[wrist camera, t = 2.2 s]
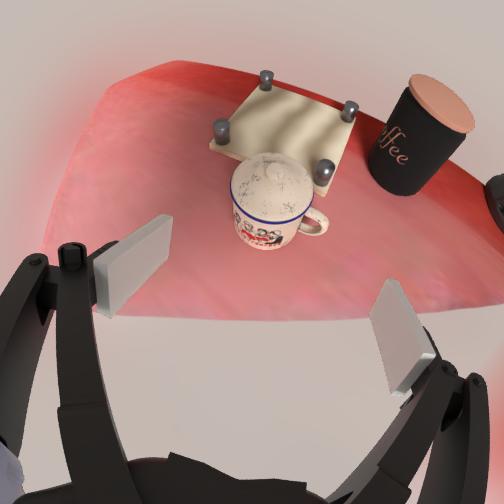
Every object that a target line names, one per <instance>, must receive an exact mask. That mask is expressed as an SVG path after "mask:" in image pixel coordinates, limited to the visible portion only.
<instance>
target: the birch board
mask: <svg viewBox="0 0 504 504" xmlns="http://www.w3.org/2000/svg"><path fill="white" fill-rule="evenodd" d="M341 114H342V111H340V110H337V109H335V108H333V107H330V106H328V105H325V104H323V103H320V102H318V101H315V100H313V99H310V98H307V97H305V96H302V95H299V94H296V93H294V92H291V91H288V90H285V89H282V88H279V87H276V86H273V85H272V90H271V91H267V92H266V91H262V90H260V89H259V85H258V87H257V88H256V89H255V90H254V91H253V92H252V93H251V94H250V95H249V97H248V98H247V99H246V100H245V101H244V102H243V103H242V104H241V106H240V107H239V108H238V109H237V110H236V111H235V113H234V114H233V115H232V116H231V117H230V118H229V120H228V121H229V122H230V142H229V143H228V144H227V145H224V146H220V145H217V144H216V143H215V138H213V139H212V140H211V142H210V143H209V146H210V150H212V151H215V152H218V153H220V154H223V155H226V156H228V157H231V158H234V159H236V160H239V161H241V162H243V161H244V160H246V159H247V158H249V157H251V156H253V155H256V154H260V153H279V154H283V155H286V156H289V157H291V158H293V159H295V160H296V161H298V162H299V163H300V164H301V165H302V166H303V167H304V168H305V169H306V170H307V172H308V173H309V175H310V177H311V180H312V183H313V189H314V193H316V194H318V195H320V196H322V197H325V195H326V193H327V191H328V189H329V186H330V184H331V181H332V179H333V176H334V174H335V171H336V169H337V166H338V164H339V161H340V159H341V156H342V154H343V151H344V149H345V146H346V143H347V141H348V138H349V135H350V133H351V130H352V127H353V125H354V122H355V119H356V118H354V120H353V122H352V123H346V122H344V121H342V120H341ZM321 159H329V160H331V161H332V162H333V163H334V164H335V167H336V168H335V171H334V173H333V175H332V177H331V179H330V181H329V183H328V185H327V186H325V187H320V186H317V185H316V184H315V183H314V182H313V176H314V173H315V171H316V168H317V165H318V163H319V161H320V160H321Z"/></svg>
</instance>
